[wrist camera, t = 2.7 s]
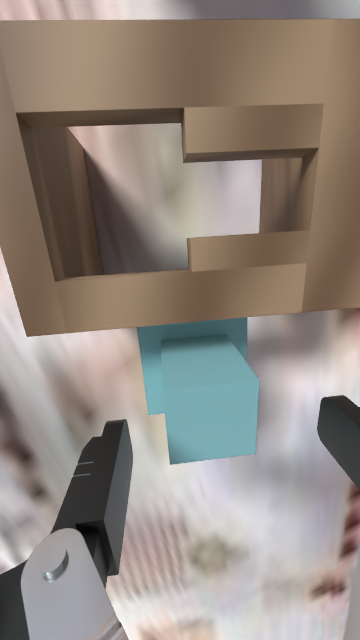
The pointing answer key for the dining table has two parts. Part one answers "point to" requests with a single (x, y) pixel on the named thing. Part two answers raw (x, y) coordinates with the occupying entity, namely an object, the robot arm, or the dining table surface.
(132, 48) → the brown keyhole frame
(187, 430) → the teal peg
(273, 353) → the dining table surface
